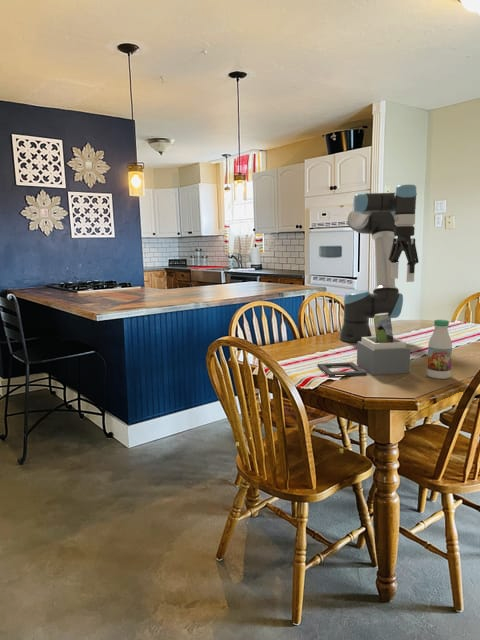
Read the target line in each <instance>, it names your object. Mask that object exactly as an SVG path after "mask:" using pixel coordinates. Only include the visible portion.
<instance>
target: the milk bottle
mask: <svg viewBox="0 0 480 640" xmlns="http://www.w3.org/2000/svg"><path fill="white" fill-rule="evenodd" d="M433 322H434V325H433V326H434V330H433V333H432V335H431V336H430V338H429V341H428V346H427V347H428V349H427V360H426V361H427V362H426V375H427V376H428V377H429V378H433V379H438V380H442V379H443V380H447V379H450V377H451V373H452V371H451V370H452V356H453V344H452V340H451V336H450V333H449V324H450V321H449V320H446V319H435V320H434V321H433Z"/></svg>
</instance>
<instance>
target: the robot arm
mask: <svg viewBox="0 0 480 640" xmlns="http://www.w3.org/2000/svg"><path fill="white" fill-rule="evenodd" d="M417 194H418V193H417V185H415V184H399V185H397V186H396V189H395V192H376V193H375V192H371V193H370V192H369V193H368V192H367V193H366V192H363V193H356V194H354V196H353V209H352V210H351V211H350V212H349V214H348V216H347V225H348V227H350V229H352V231H355V232H356V233H359V234H363V235H364V234H369V235H370V234H371V238H372V240H373V241H374V245H375V247H374V248H375V252H374V255H375V281H376V282H375V283H376V285H375V286H376V287H375V288H374V289H373V290H372V293H371V292H370V290H366V289H365V290H355V291H349V292H347V293H345V295H344V299H343V324H342V325H341V326H342V327H341V329H340V331H339V340H340V341H343V342H347V343H356V344H357V342H358V341H361V339H362V337H373V335H372V331H371V328H370V324H369V319H374V317H375V314H379V313H388V314H389V315H390V317H391V319H396V318H399V317H400V315H401V313H402V310H403V309H402V308H403V303H404V295H403V294H402V293H400V292H399V290H400V289H399V288H398V287H396V279H398V278H399V263H400V261H399V260H400V257H401V255H402V252H404V254H405V258H406V260H407V264H406V280H405V281H406V283H409V282H410V283H414V282H415V265H416V264H419V256H418V251H417V246H416V238H415V237H414V238H413V236H414V235H415V229H416V228H415V226H414V225H415V224H416V209H417V208H416V206H417V205H416V204H417ZM396 237H397V238H396Z"/></svg>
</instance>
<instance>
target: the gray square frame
mask: <svg viewBox="0 0 480 640" xmlns="http://www.w3.org/2000/svg"><path fill="white" fill-rule="evenodd" d="M317 366H318V367H319V368H318V369H320V370H321V369H322V370H323V371H324V372H325V373H326V374H327V375H329V376H335V375H346V376H345V377H350V376H352V377H354V376H367V373H368V372H367V371H366V370H365V369H363V368H362V367H360V366H359V365H357V363H354V362H353V361H352V362H351V361H350V362H331V363H317V365H316V367H317ZM332 366H346V367H349V366H350V367H349V368H351V369H352V368H353V369H352V370H351V371H350V370H349V371H334V372H333V371H332V370H330V368H333V367H332ZM322 370H321V371H322ZM323 371H322V372H323ZM324 372H323V373H324ZM325 373H324V374H325ZM326 374H325V375H326ZM327 375H326V376H327Z"/></svg>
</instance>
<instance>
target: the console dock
mask: <svg viewBox="0 0 480 640" xmlns="http://www.w3.org/2000/svg"><path fill="white" fill-rule="evenodd" d="M393 341H394V342H392V343H377V341H376V336H372V337H362V339H361V341H358V342H357V343H356V344H357V345H356V347H357V348H356V365H357V364H358V365H357V366H358V367H360V368H361V369H363V370H364V371H366V372H367V373H369V374H370V375H372V376H378V375H379V376H380V375H382V376H383V375H398V374H410V367H411V365H410V364H411V350H412V349H411V348H409V347H408V346H407V342H406V341H403V340H401V339H399V338H397V337H394V336H393Z"/></svg>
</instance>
